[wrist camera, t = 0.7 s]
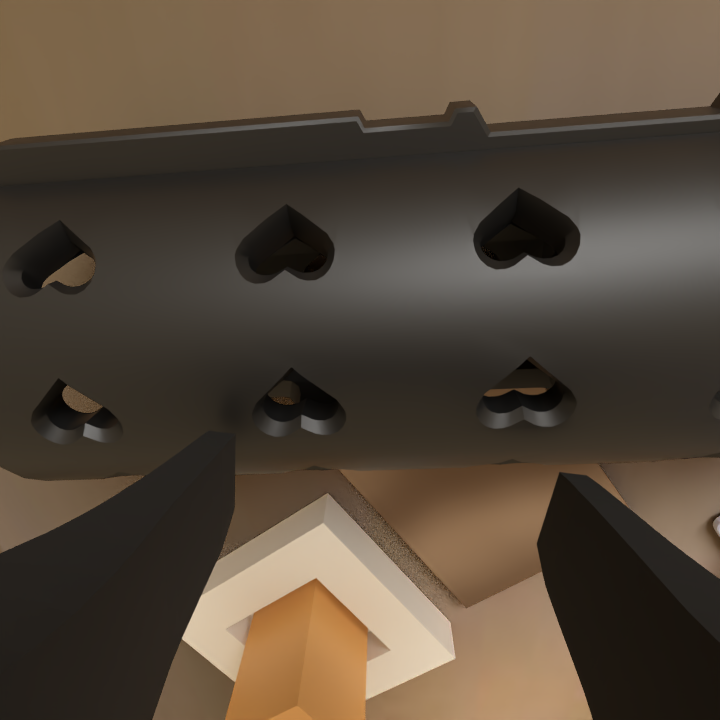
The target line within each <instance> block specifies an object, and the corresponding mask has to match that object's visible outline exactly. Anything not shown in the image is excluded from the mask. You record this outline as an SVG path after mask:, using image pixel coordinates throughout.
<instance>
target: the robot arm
mask: <svg viewBox="0 0 720 720" xmlns="http://www.w3.org/2000/svg"><path fill="white" fill-rule="evenodd" d="M235 447H236V434H232V433H223V432H215V431H207V432H206V433H204V434H203V435H202V436H200V437H199V438H197V439H196V440H195V441H193V442H192V443H191V444H189V445H188V446H186V447H185V448H184V449H182V450H181V451H180V452H178V453H177V454H176V455H174V456H173V457H172V458H170V459H169V460H167V461H166V462H165V463H163V464H162V465H160V466H159V467H158V468H156V469H155V470H153V471H152V472H150V473H149V474H148V475H146V476H145V477H143V478H142V479H140V480H139V481H137V482H135V483H134V484H132V485H131V486H129V487H127V488H126V489H124V490H123V491H121V492H120V493H118V494H116V495H115V496H113V497H112V498H110V499H109V500H107V501H105V502H104V503H102V504H100V505H99V506H97V507H95V508H93V509H92V510H90V511H88V512H86V513H84V514H83V515H81V516H79V517H77V518H75V519H73V520H71V521H69V522H67V523H65V524H63V525H61V526H59V527H58V528H56V529H54V530H51V531H49V532H47V533H45V534H43V535H41V536H39V537H36V538H34V539H32V540H30V541H27V542H25V543H23V544H21V545H18V546H16V547H14V548H12V549H9V550H7V551H5V552H3V553H0V720H152V718H153V716H154V713H155V710H156V707H157V704H158V701H159V698H160V695H161V692H162V689H163V686H164V683H165V681H166V678H167V675H168V672H169V669H170V666H171V664H172V661H173V659H174V656H175V654H176V651H177V649H178V646H179V644H180V641H181V639H182V637H183V635H184V633H185V630H186V628H187V626H188V624H189V622H190V619H191V617H192V615H193V613H194V611H195V608H196V606H197V604H198V602H199V599H200V597H201V595H202V593H203V591H204V588H205V586H206V584H207V582H208V580H209V577H210V575H211V573H212V571H213V568H214V566H215V564H216V562H217V559H218V557H219V555H220V552H221V550H222V547H223V544H224V541H225V538H226V535H227V532H228V528H229V525H230V522H231V518H232V515H233V512H234V507H235ZM713 527H714V529H715V531H716V532H717V534H718V536H719V537H720V516H719V517H717V518H716V519H715V520H714V522H713ZM537 548H538V553H539V558H540V563H541V568H542V572H543V576H544V581H545V585H546V588H547V591H548V594H549V597H550V600H551V603H552V606H553V608H554V611H555V614H556V617H557V619H558V622H559V625H560V628H561V630H562V633H563V636H564V639H565V641H566V644H567V647H568V649H569V652H570V655H571V657H572V660H573V663H574V666H575V668H576V671H577V674H578V676H579V679H580V682H581V685H582V687H583V690H584V693H585V696H586V699H587V702H588V705H589V708H590V711H591V715H592V718H593V720H720V579H719V578H717V577H716V576H715V575H713V574H712V573H710V572H709V571H708V570H706V569H705V568H704V567H702V566H701V565H700V564H698V563H697V562H696V561H694V560H693V559H692V558H690V557H689V556H688V555H686V554H685V553H684V552H682V551H681V550H680V549H679V548H677V547H676V546H675V545H673V544H672V543H671V542H670V541H668V540H667V539H666V538H665V537H663V536H662V535H661V534H660V533H658V532H657V531H656V530H655V529H653V528H652V527H651V526H650V525H649V524H647V523H646V522H645V521H644V520H642V519H641V518H640V517H639V516H638V515H636V514H635V513H634V512H633V511H632V510H630V509H629V508H628V507H627V506H626V505H624V504H623V503H622V502H621V501H619V500H618V499H617V498H616V497H615V496H613V495H612V494H611V493H610V492H608V491H607V490H606V489H605V488H603V487H602V486H601V485H600V484H598V483H597V482H596V481H594V480H593V479H591V478H590V477H589V476H587V475H580V474H572V473H563V472H559V475H558V478H557V481H556V484H555V487H554V490H553V494H552V497H551V500H550V503H549V506H548V509H547V512H546V515H545V519H544V522H543V525H542V528H541V531H540V534H539V537H538V541H537Z"/></svg>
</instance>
